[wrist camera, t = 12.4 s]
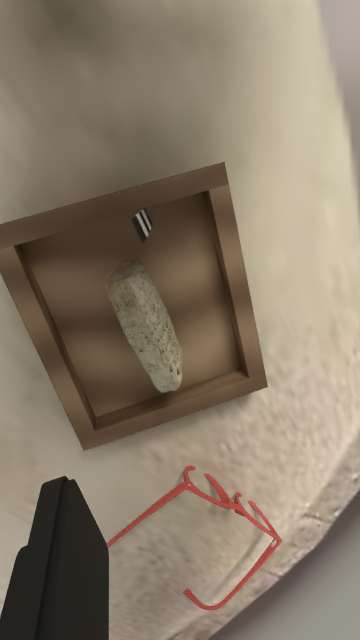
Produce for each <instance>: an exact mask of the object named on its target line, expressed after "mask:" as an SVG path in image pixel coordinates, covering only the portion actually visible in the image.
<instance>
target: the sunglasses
mask: <svg viewBox="0 0 360 640" xmlns="http://www.w3.org/2000/svg"><path fill="white" fill-rule="evenodd" d="M188 470H195V467H193V466H188V467H186V469H185V470H184V473H183V475H184V481H185V482H182V483H181V484H180V485H178V486H177V487H176V488H174V489H173V490H172V491H170V492H169V493H168V494H166V495H165V496H164V497H162V498H161V499H160V500H158V501H157V502H156V503H155V504H153V505H152V506H151V507H150V508H149V509H148V510H146V511H145V512H144V513H143V514H142V515H141V516H139V517H138V518H137V519H136V520H134V521H133V522H132V523H131V524H129V525H128V526H127V527H126V528H125V529H123V530H122V531H121V532H120V533H119V534H117V535H116V536H115V537H114V538H113V539H112V540H111V541H109V542H108V543H107V548H108V547H110V546H111V545H112V544H113V543H114V542H116V541H117V540H118V539H119V538H120V537H122V536H123V535H124V534H125V533H127V532H128V531H129V530H130V529H132V528H133V527H134V526H136V525H137V524H138V523H139V522H141V521H142V520H143V519H145V518H146V517H147V516H149V515H150V514H152V513H153V512H155V511H156V510H158V509H159V508H160V507H162V506H163V505H165V504H166V503H167V502H169V501H170V500H171V499H173V498H174V497H176V496H177V495H178V494H180V493H181V492H183V491H184V490H189V491H191V492H193V493H195V494H197V495H198V496H200V497H202V498H204V499H206V500H208V501H210V502H212V503H214V504H216V505H218V506H221V507H223V508H227V509H234V510H235V513H237V514H239V515H242V516H244V517H246V518H247V519H248V520H250V521H251V522H252V523H253V524H255V525H256V526H257V527H258V528H260V529H261V530H263V531H264V532H266V533H267V534H269V535H270V536H272V537H273V538H274V540H273V541H272V543H271V544H270V545H269V546H268V548H267V549H266V550H265V552H264V553H263V554H262V555H261V557H260V558H259V559H258V561H257V562H256V563H255V565H254V566H253V568H252V569H251V570H250V571H249V572H248V574H247V575H246V576H245V577H244V578H243V579H242V581H241V582H240V583H239V584H238V585H237V586H236V587H235V589H234V590H233V591H232V592H231V593H230V594H229V595H228V596H227V597H226V598H225V599H224V600H223V601H222V602H220V603H219V604H217V605H215V606H206V605H203V604H202V603H201V602H200V601H199V600H198V599H197V598H196V597H195V596H194V595H193V594H192V592H191V591H190V590H189V589H186V590H185V591H184V592H183V593H184V594H186V595H187V596H188V597H189V598H190V599H191V600H192V601H193V602H194V603H195V604H197V605H198V606H199V607H200V608H202V609H205V610H215V609H218V608H220V607H222V606H223V605H224V604H226V603H227V602H228V601H229V600H230V599H231V598H232V597H233V596H234V595H235V594H236V593H237V592H238V590H239V589H240V588H241V587H242V586H243V585H244V584H245V583H246V582H247V581H248V579H249V578H250V577H251V576H252V575H253V574H254V573H255V572H256V571H257V570H258V569H259V568H260V567H261V566H262V565H263V564H264V563H265V561H266V560H267V559H268V558H269V557H270V555H271V554H272V553H273V552H274V551H275V549H276V548H277V547H278V546H279V545H280V543H281V542H282V539H281V538H280V537H279V535H278V534H277V533H276V531H275V530H274V528H273V527H272V526H271V524H270V523H269V521H268V520H267V519H266V517H265V516H264V515H263V514H262V512H261V511H260V510H259V509H258V507H257V506H256V505H255V504H254V503H253V502H252V501H248V503H249V504H250V505H251V506H252V507H253V508H254V509H255V510H256V511H257V512H258V514H259V515H260V516H261V517H262V519H263V520H264V521H265V523H266V524H267V526H268V527H269V529H270V530H271V531H270V530H268V529H267V528H265V527H264V526H262V525H261V524H260V523H258V522H257V521H256V520H255V519H254V518H252V517H251V516H250V515H249V514H248V513H247V512H246V510H245V509H244V508H243V506H242V505H241V503H240V501H239V498H238V497H241V496H242V494H240V493H237V494H236V496H235V499H234V503H233V502H231V500H230V498H229V496H228V495H227V494H226V492H225V491H224V490H223V488H222V487H221V486H220V485H219V484H218V483H217V482H216V480H215V479H214V478H212V477H211V476H210V475H209V474H207V473H206V474H204V475H205V476H206V477H207V478H208V479H209V480H210V481H211V483H212V484H213V486H214V487H215V489H216V491H217V493H218V495H219V497H220V500H221V502H220V501H218V500H216V499H214V498H212V497H210V496H208V495H206V494H205V493H203V492H201V491H200V490H199V489H197V488H196V487H195V486H194V485H193V484H192V482H191V481H190V479H189V477H188Z"/></svg>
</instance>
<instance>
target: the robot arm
mask: <svg viewBox="0 0 360 640" xmlns="http://www.w3.org/2000/svg"><path fill="white" fill-rule="evenodd" d="M0 640H109V554H108V548H107V544H106V542H105V540H104V538H103V536H102V534H101V532H100V529H99V527H98V525H97V523H96V521H95V519H94V517H93V515H92V513H91V511H90V509H89V507H88V505H87V503H86V501H85V499H84V497H83V495H82V493H81V491H80V489H79V487H78V485H77V483H76V481H75V480H74V479H72V480H68V478H67V477H66V476H63V477H60V478H57V479H54V480H51V481H48V482H45V483H43V485H42V487H41V490H40V495H39V499H38V503H37V507H36V511H35V516H34V520H33V524H32V528H31V532H30V537H29V541H28V545H27V546H24V547H22V548H21V549H20V551H19V552H18V554H17V557H16V560H15V564H14V568H13V571H12V575H11V579H10V583H9V587H8V590H7V594H6V598H5V602H4V606H3V610H2V613H1V617H0Z"/></svg>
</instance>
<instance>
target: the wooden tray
mask: <svg viewBox="0 0 360 640" xmlns="http://www.w3.org/2000/svg"><path fill="white" fill-rule="evenodd" d="M144 208H145V209H146V211H147V213H148V215H149V217H150V220H151V222H152V224H153V226H152V228H151V230H150V232H149V234H148V236H147V238H146V240H145V242H143V243H142V241H141V239H140V237H139V235H138V233H137V230H136V228H135V226H134V224H133V222H132V220H131V219H132V218H133V217H134V216H135V215H136V214H137V213H138V212H139V211H141V210H142V209H144ZM128 261H138V262H139V263H140V264H141V265H142V266H143V268H144V271H145V272H146V273H147V274H148V275H149V278H150V280H151V281H152V282H153V283H154V286H155V287H156V288H157V291H158V293H159V295H160V297H161V299H162V302H163V304H164V306H165V307H166V310H167V313H168V314H169V316H170V319H171V321H172V324H173V326H174V332H175V334H176V337H177V339H178V341H179V345H180V346H181V347H182V350H183V364H182V376H183V377H182V382H181V384H180V386H179V388H178V389H177V390H176V391H168V392H165V393H162V392H160V391H159V390H157V389H156V387H155V386H154V384H153V383H152V381H151V379H150V377H149V375H148V373H147V372H146V371H145V369H144V368H143V366H142V364H141V363H140V361H139V360H138V358H137V356H136V354H135V352H134V350H133V348H132V346H131V345H130V344H129V342H128V340H127V337H126V336H125V334H124V333H123V329H122V327H121V325H120V322H119V320H118V317H117V315H116V314H115V310H114V307H113V305H112V303H111V302H110V300H109V294H108V292H107V289H106V283H107V280H108V279H109V277H110V276H111V274H112V273H113V272H114V271H115V270H116V269H117V268H118V267H119V266H120V265H121V264H123V263H125V262H128ZM0 273H1V275H2V277H3V279H4V281H5V284H6V286H7V288H8V290H9V292H10V294H11V296H12V299H13V301H14V303H15V305H16V307H17V309H18V311H19V313H20V316H21V318H22V320H23V322H24V324H25V326H26V328H27V330H28V333H29V335H30V337H31V339H32V341H33V343H34V345H35V348H36V350H37V352H38V354H39V356H40V358H41V360H42V362H43V365H44V367H45V369H46V371H47V373H48V375H49V377H50V379H51V382H52V384H53V386H54V388H55V390H56V392H57V394H58V397H59V399H60V401H61V403H62V405H63V407H64V409H65V411H66V414H67V416H68V418H69V420H70V422H71V424H72V426H73V428H74V431H75V433H76V435H77V437H78V439H79V441H80V443H81V446H82V448H83V450H87V449H90V448H93V447H96V446H99V445H102V444H105V443H108V442H110V441H113V440H116V439H119V438H122V437H125V436H128V435H131V434H134V433H136V432H139V431H142V430H145V429H148V428H151V427H154V426H157V425H159V424H162V423H165V422H168V421H171V420H174V419H177V418H180V417H183V416H185V415H188V414H191V413H194V412H197V411H200V410H203V409H206V408H208V407H211V406H214V405H217V404H220V403H223V402H226V401H229V400H232V399H234V398H237V397H240V396H243V395H246V394H249V393H252V392H255V391H258V390H260V389H263V388H266V387H268V385H267V380H266V375H265V370H264V364H263V359H262V354H261V349H260V344H259V339H258V333H257V328H256V323H255V318H254V313H253V307H252V302H251V297H250V292H249V287H248V281H247V276H246V271H245V266H244V261H243V255H242V250H241V245H240V240H239V235H238V230H237V224H236V219H235V214H234V209H233V204H232V198H231V193H230V188H229V183H228V178H227V172H226V167H225V162H222V163H219V164H215V165H211V166H208V167H204V168H201V169H197V170H194V171H190V172H186V173H183V174H179V175H176V176H172V177H168V178H165V179H161V180H158V181H154V182H151V183H147V184H143V185H140V186H136V187H133V188H129V189H125V190H122V191H118V192H115V193H111V194H108V195H104V196H100V197H97V198H93V199H90V200H86V201H83V202H79V203H75V204H72V205H68V206H65V207H61V208H57V209H54V210H50V211H47V212H43V213H40V214H36V215H32V216H29V217H25V218H22V219H18V220H14V221H11V222H7V223H4V224H0Z"/></svg>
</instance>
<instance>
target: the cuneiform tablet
mask: <svg viewBox="0 0 360 640" xmlns="http://www.w3.org/2000/svg"><path fill="white" fill-rule="evenodd" d="M131 220H132V222H133V224H134V226H135V228H136V230H137V233H138V235H139V237H140V239H141V241H142V243H143V242H145V240H146V238H147V236H148V234H149V232H150V230H151V228H152V226H153V224H152V222H151V220H150V217H149V215H148V213H147V211H146V209H145V208H144V209H142V210H141V211H139V212H138V213H137V214H136V215H135V216H134V217H133V218H132V219H131ZM106 289H107V292H108V294H109V300H110V302H111V303H112V305H113V307H114V310H115V314H116V315H117V317H118V320H119V322H120V325H121V327H122V329H123V333H124V334H125V336H126V337H127V340H128V342H129V344H130V345H131V346H132V348H133V350H134V352H135V354H136V356H137V358H138V360H139V361H140V363H141V364H142V366H143V368H144V369H145V371H146V372H147V373H148V375H149V377H150V379H151V381H152V383H153V384H154V386H155V387H156V389H157V390H159V391H160V392H162V393H165V392H168V391H176V390H177V389H178V388H179V386H180V384H181V382H182V377H183V376H182V364H183V350H182V347H181V346H180V345H179V341H178V339H177V337H176V334H175V332H174V326H173V324H172V321H171V319H170V316H169V314H168V313H167V310H166V307H165V306H164V304H163V302H162V299H161V297H160V295H159V293H158V291H157V288H156V287H155V286H154V283H153V282H152V281H151V280H150V278H149V275H148V274H147V273H146V272H145V271H144V268H143V266H142V265H141V264H140V263H139V262H138V261H128V262H125V263H123V264H121V265H120V266H119V267H118V268H117V269H116V270H115V271H114V272H113V273H112V274H111V276H110V277H109V279H108V280H107V283H106Z"/></svg>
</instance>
